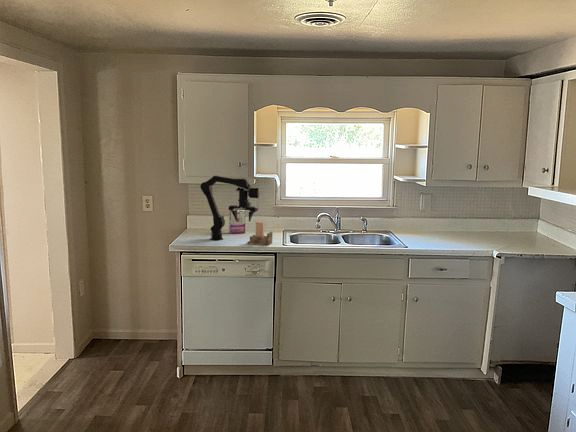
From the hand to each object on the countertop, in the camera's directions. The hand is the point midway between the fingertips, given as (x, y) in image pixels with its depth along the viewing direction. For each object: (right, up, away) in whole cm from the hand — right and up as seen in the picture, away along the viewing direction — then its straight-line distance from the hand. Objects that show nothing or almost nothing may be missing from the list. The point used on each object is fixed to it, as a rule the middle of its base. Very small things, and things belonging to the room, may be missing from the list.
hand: (243, 221), depth 313 cm
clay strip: (+11, -13, -5) cm, 18 cm away
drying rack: (+11, -14, -5) cm, 19 cm away
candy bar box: (-7, -9, +28) cm, 30 cm away
